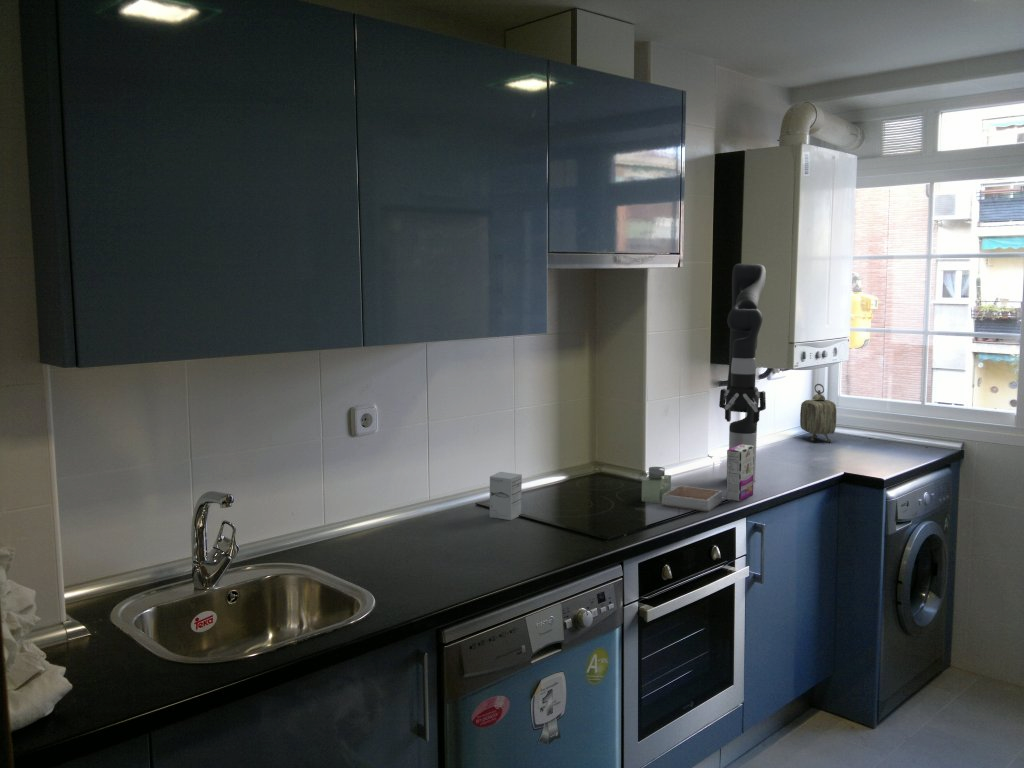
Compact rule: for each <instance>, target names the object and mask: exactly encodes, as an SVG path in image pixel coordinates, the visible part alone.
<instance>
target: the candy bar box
mask: <svg viewBox="0 0 1024 768" xmlns="http://www.w3.org/2000/svg"><path fill="white" fill-rule="evenodd" d="M753 469H754V446H752V445H744V444H740V445H738V446H736V447H733V448H731V449H729V448H728V449H727V450H726V500H728V501H734V502H742V501H744V500H745V499H747V498H749V497H751V496H753V495H754V482H753V475H754V474H753V472H754V470H753Z"/></svg>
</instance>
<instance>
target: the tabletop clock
mask: <svg viewBox="0 0 1024 768" xmlns="http://www.w3.org/2000/svg"><path fill="white" fill-rule="evenodd" d="M817 386H820V387H821V388H822V391H821V390H820V389H817ZM814 392H815V393H816V394H814V395H813V397H812V399H806V400H804V401H803V402H801V404H800V414H799V417H800V419H799V423H800V428H801V430H803V431H805V432H807V433H809V434H812V437H810V441H811V442H813V441H815V439H817V438H818V435H823V436H824V437H825V439H826V440H827V441H826V442H827V444H828V443H829V444H830V443H831V442H832V440H831V439H830V438H829V436H828V435H829V434H830V435H831V434H833V435H834V434H835V432H836V428H837V427H836V426H837V406H836V403H835V402H833V401H831V400H828V399H826V397H825V396H824V395H823V393H824V392H825V387H824V385H823V384H822V383H817V384H815V385H814Z"/></svg>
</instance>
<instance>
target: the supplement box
mask: <svg viewBox="0 0 1024 768" xmlns="http://www.w3.org/2000/svg"><path fill="white" fill-rule="evenodd" d="M522 479H523V474H521V473H513V472H505V471H499V472H497V473H494V474H492V475H490V476H489V518H495V519H499V520H506V521H512V520H515V519H516V518H518V517H520V516H521V515H522V490H523V489H522V486H523V485H522ZM520 514H521V515H520ZM519 515H520V516H519Z"/></svg>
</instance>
